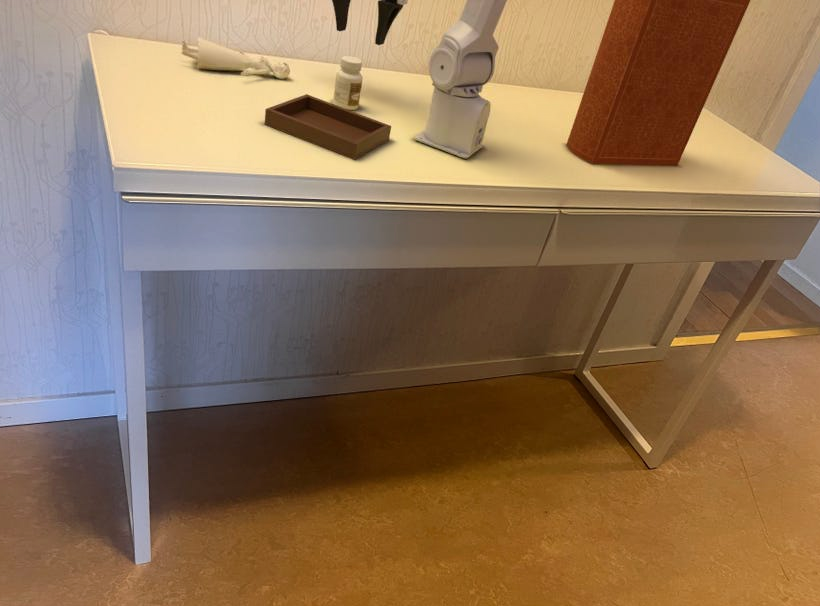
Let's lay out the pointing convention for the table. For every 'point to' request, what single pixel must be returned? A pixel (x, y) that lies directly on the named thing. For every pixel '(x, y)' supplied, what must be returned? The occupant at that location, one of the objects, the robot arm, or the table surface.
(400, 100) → the table surface
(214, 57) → the woman figurine
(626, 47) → the book
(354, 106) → the pill bottle
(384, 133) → the tray
